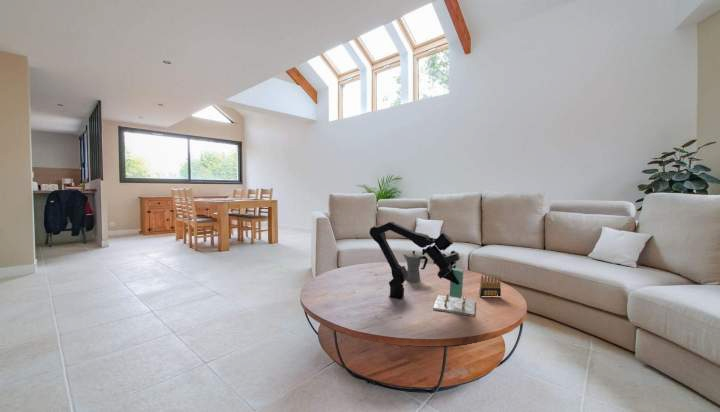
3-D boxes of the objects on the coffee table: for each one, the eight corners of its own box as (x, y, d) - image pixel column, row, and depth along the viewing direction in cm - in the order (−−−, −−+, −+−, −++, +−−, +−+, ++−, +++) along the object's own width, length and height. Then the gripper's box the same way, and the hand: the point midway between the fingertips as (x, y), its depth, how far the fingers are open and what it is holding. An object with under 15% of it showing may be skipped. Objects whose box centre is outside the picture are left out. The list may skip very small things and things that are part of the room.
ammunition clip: (480, 297, 157) (481, 275, 156) (478, 296, 159) (480, 273, 158) (500, 297, 157) (502, 275, 156) (499, 296, 159) (500, 274, 158)
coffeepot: (400, 280, 183) (400, 251, 182) (405, 276, 191) (405, 248, 190) (424, 284, 176) (426, 254, 175) (429, 280, 184) (430, 251, 183)
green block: (449, 296, 142) (450, 270, 141) (451, 292, 146) (452, 267, 145) (460, 298, 139) (462, 271, 138) (462, 294, 144) (463, 269, 143)
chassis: (433, 309, 140) (433, 302, 140) (438, 296, 157) (438, 290, 157) (474, 316, 133) (474, 308, 133) (475, 302, 150) (475, 295, 150)
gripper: (446, 249, 134) (470, 277, 130) (452, 242, 151) (474, 267, 147) (427, 264, 138) (451, 292, 134) (436, 256, 155) (457, 280, 151)
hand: (459, 282), depth 142 cm, fingers closed on green block, 5 cm apart
